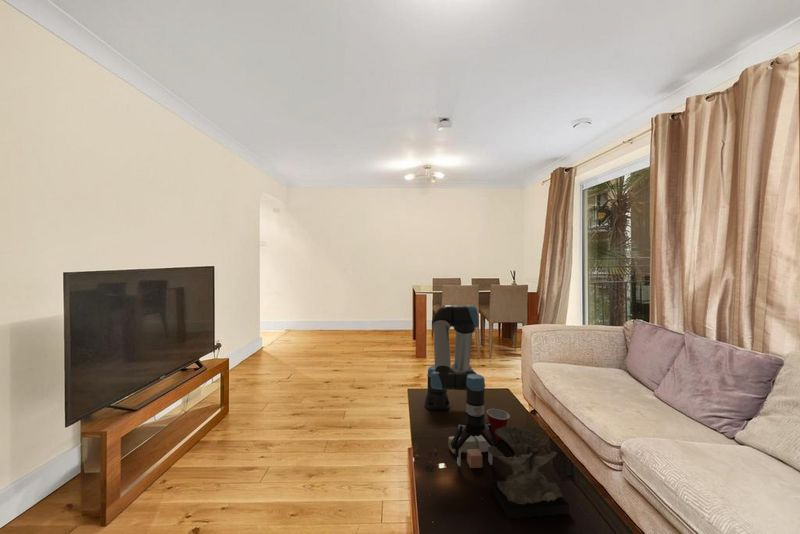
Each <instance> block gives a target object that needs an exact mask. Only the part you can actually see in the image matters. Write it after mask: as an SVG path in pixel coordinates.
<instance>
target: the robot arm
mask: <svg viewBox="0 0 800 534" xmlns="http://www.w3.org/2000/svg"><path fill="white" fill-rule="evenodd" d="M479 324H480V321H479V314H478V309H477V307H476V306H475V305H469V304H465V305H464V304H460V305H459V304H445V305H443V306H441V307H440V308H438V310H436V312H434V315H433V317H432V320H431V328H432V330H433V342H434V343H433V347H434V350H433V351H434V355H433V356H434V364H433V365H431V366H429V367H428V368H427V374H426V377H427V384H426V385H427V388H426V389H427V391H426V395H425V398H424V402H423V403H424V405H423V406H424V407H425V409H428V410H431V411H435V412H442V410H443V411H446V410H448V409H450V408H449V407H451V401H450V397H449V395H448V390H454V391H465V397H466V399H465V412H466V413H465V424H461V423H458V425H457V430H456V432H455V434H454V435H453V436H454V438H453V440H452V442H451V444H450V445H451V447H452V449H455V454H454V455H455V458H456V459H457V460H456V465H458V467H461V465H462V464H461V461H462V460H461V459H462V458H461V457H462V456H461V455H462V453H461V450H460V447H461V446H462V445H463V444H464V443H465V441H466V440H467V439H468V438H469V437H470V436H474V437H475V436H480V435H482V436H483V437H484V439H485V440H486V441H487V442H488V443H489V445H490V446H495V447H496V448H499V447H500V444H499V441H498V440H497V439H496V437H495V435H494V433H493V431H492V426H491V424H490V423H489V422H487V423H485V389H486V383H485V381H486V380H485V377H484V376H483V375H481V374H478V373H477V372H476V371H474V369H473V368H472V366H471V365H470V362H471V361H470V360H471V349H472V339H473V338H472V337H473V333H474V332H475V331H476V328H479V326H480V325H479ZM451 327H453V330H454V331H455V343H454V344H455V345H454V346H455V348H454V363H452V364H451V349H450V333H449V331H450V330H451ZM485 429H486V430H487V431H488V433H489V435H490V438H491V439H490V438H489V437H488V436H487V435H486V433H485V432H484V431H485ZM464 430H465V431H464ZM462 434H463V435H462ZM459 438H460V439H459ZM458 440H459V441H458ZM491 440H492V441H493V442H492V441H491ZM490 446H488V447H490ZM487 456H488V457H487V458H488V460H487V461H488V463H489V465H490V466H492V465H493V457H494V456H493V455H492V454H490V453H489V451H488V454H487Z"/></svg>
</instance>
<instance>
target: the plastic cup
mask: <svg viewBox="0 0 800 534" xmlns="http://www.w3.org/2000/svg"><path fill="white" fill-rule="evenodd" d="M486 414H487V418H488V419H487V420H488V423H490V424H491V426H492V431H493V433H494V435H495V437H496V439H497V441H502V440H503V439H501V438H500V437H499V436H497V435H496V434H495V430H496V429H498V428H501V427H507V424H508V420H509V419H510V417H511V416H510V414H509V413H508V412H507V411H505V410H502V409H499V408H498V409H497V408H489V409H486ZM503 441H504V440H503Z"/></svg>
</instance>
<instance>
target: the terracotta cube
mask: <svg viewBox="0 0 800 534" xmlns="http://www.w3.org/2000/svg"><path fill="white" fill-rule="evenodd" d="M466 462H467V464H468V465H469V468H470V469H477V468H478V469H479V468H483V454H482V452H480V451H479V449H467V453H466Z"/></svg>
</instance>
